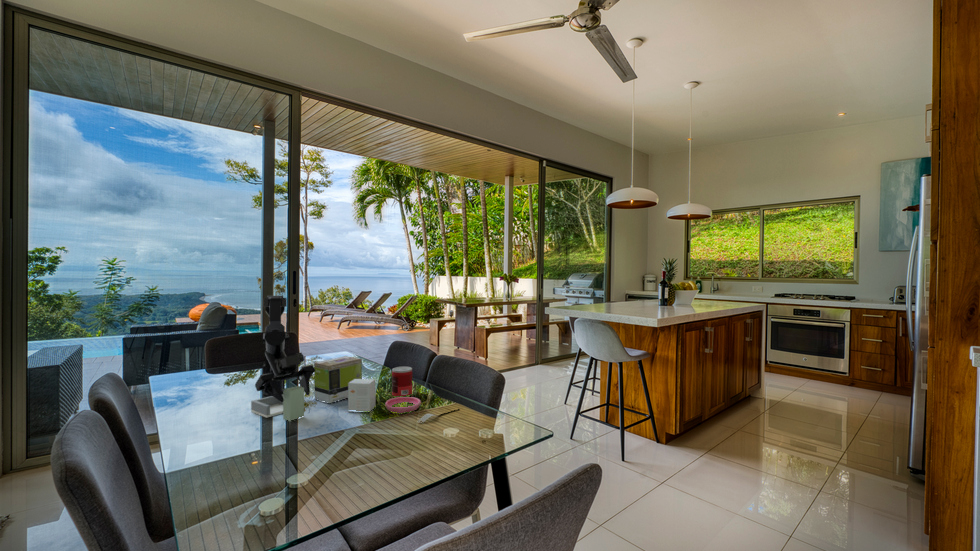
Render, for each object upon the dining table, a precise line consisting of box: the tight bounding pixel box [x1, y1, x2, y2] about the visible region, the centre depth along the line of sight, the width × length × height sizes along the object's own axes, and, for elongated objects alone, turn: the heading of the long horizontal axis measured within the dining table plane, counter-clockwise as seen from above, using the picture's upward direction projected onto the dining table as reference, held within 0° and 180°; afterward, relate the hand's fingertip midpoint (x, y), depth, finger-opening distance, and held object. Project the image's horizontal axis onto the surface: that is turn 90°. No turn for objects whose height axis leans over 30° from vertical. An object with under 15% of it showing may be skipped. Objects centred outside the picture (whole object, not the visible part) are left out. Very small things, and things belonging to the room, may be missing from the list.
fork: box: [418, 413, 437, 423], centre depth 147 cm, size 3×21×3 cm, turn 142°
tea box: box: [313, 355, 363, 404], centre depth 166 cm, size 15×10×15 cm
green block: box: [282, 385, 305, 422], centre depth 143 cm, size 4×5×10 cm
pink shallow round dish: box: [384, 396, 422, 413], centre depth 153 cm, size 12×12×3 cm
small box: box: [347, 378, 376, 412], centre depth 151 cm, size 8×6×10 cm
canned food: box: [391, 366, 413, 397], centre depth 168 cm, size 8×8×11 cm
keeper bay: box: [250, 394, 283, 418], centre depth 150 cm, size 10×10×4 cm
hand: (296, 397), depth 142 cm, fingers open, 9 cm apart
